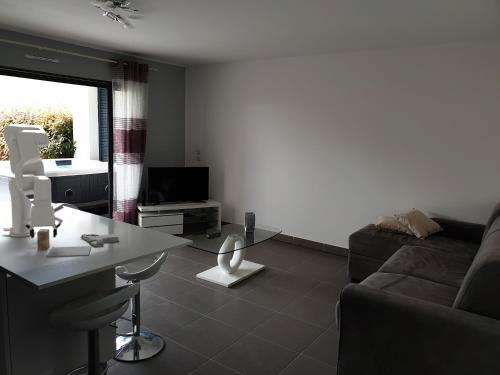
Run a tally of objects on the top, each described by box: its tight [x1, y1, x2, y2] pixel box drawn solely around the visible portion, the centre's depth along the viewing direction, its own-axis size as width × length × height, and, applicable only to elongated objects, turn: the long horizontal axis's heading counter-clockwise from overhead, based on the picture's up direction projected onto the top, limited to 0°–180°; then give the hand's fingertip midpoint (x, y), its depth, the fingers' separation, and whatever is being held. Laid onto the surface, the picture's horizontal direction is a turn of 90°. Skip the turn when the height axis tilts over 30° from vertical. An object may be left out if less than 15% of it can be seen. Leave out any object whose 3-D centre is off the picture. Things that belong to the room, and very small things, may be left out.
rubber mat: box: [46, 245, 92, 258], centre depth 186 cm, size 18×14×1 cm
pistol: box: [80, 233, 119, 247], centre depth 208 cm, size 20×3×16 cm
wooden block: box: [36, 228, 50, 251], centre depth 190 cm, size 4×7×9 cm, turn 17°
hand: (43, 237), depth 189 cm, fingers open, 9 cm apart
